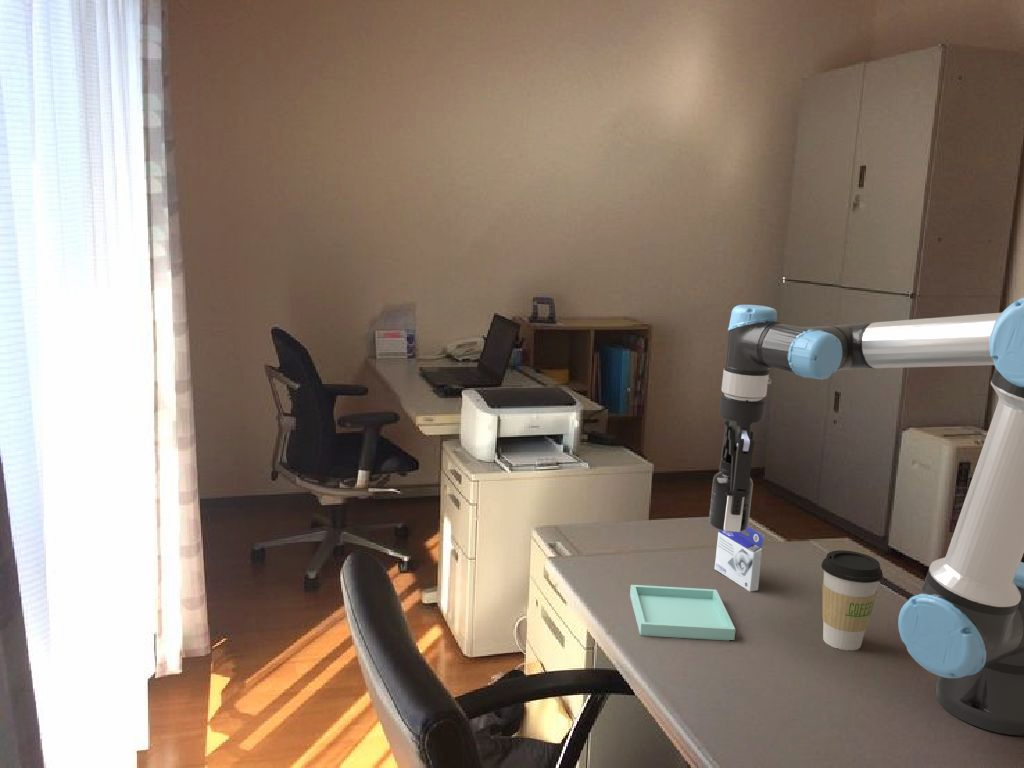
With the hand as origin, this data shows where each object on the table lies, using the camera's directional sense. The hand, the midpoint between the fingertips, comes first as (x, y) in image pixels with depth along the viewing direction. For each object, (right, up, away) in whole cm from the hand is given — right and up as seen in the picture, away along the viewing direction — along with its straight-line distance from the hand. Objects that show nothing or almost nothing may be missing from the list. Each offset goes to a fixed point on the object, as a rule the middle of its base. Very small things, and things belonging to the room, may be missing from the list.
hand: (727, 522), depth 160 cm
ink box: (+6, -15, +20) cm, 26 cm away
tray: (-8, -17, +2) cm, 19 cm away
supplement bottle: (0, -1, 0) cm, 1 cm away
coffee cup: (+19, -20, -4) cm, 28 cm away
